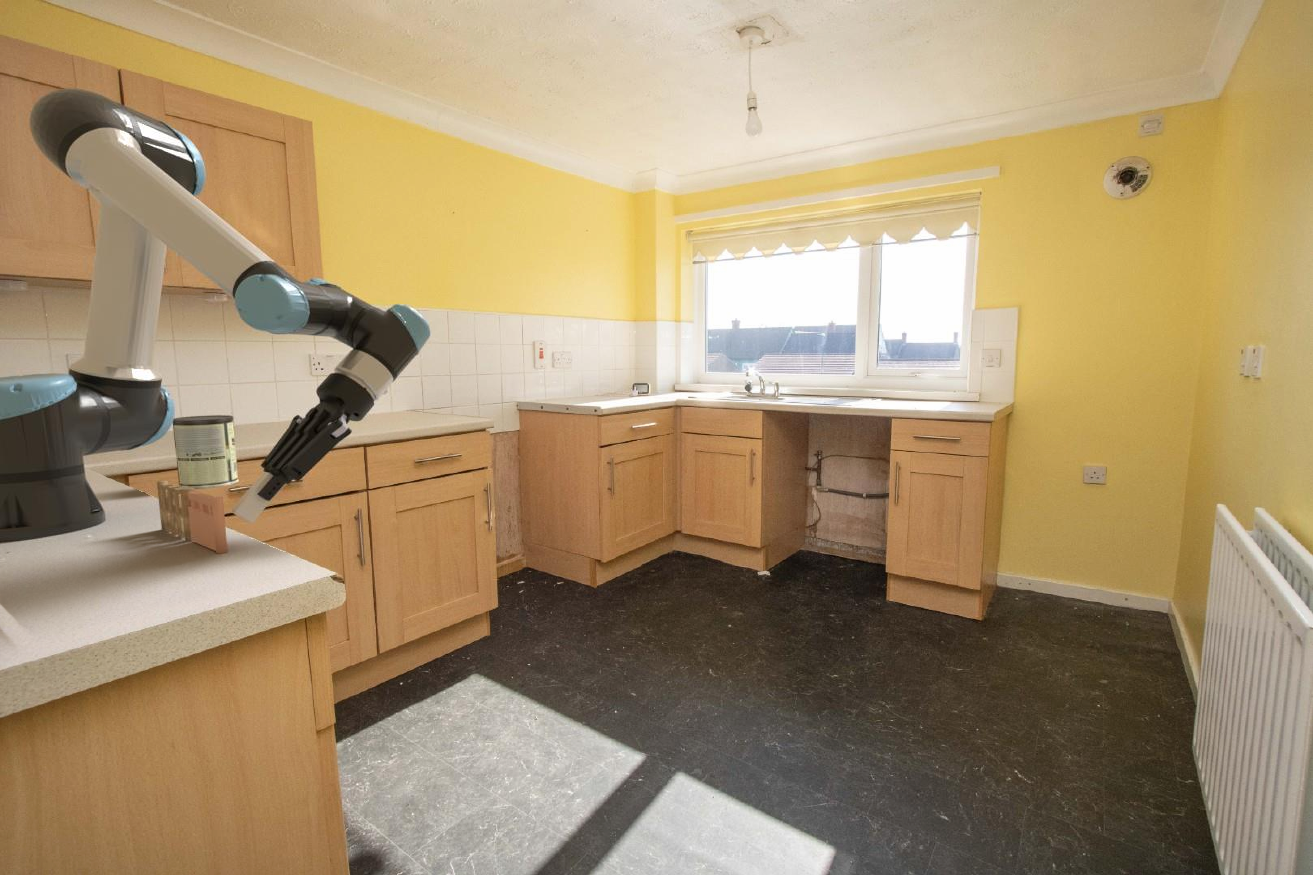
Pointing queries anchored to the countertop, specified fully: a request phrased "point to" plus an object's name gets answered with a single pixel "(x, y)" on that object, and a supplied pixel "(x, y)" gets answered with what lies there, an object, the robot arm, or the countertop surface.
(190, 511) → the fence gate
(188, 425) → the coffee can
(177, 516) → the fence anchor
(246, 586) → the countertop surface
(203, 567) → the countertop surface
